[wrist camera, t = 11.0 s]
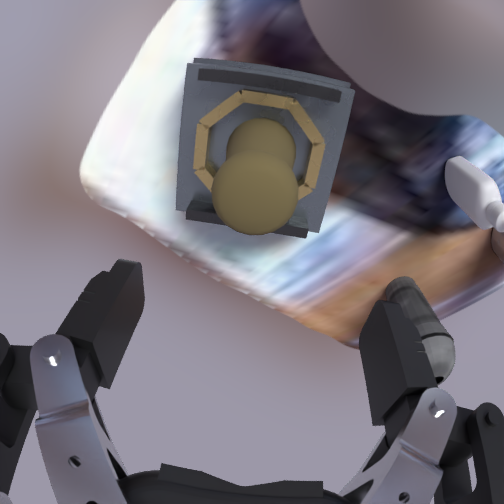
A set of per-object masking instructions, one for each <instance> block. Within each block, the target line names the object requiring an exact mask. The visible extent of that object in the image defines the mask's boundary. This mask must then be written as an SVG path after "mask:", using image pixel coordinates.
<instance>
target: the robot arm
mask: <svg viewBox="0 0 504 504" xmlns="http://www.w3.org/2000/svg"><path fill="white" fill-rule="evenodd" d="M491 244H492V248H493V251H494V252H495V254H496V255H497V256H498V257H499V259H500V260H501V261H502V262H503V264H504V232H498V231H497V230H496V229H495V228H493V232H492V237H491ZM144 301H145V296H144V286H143V274H142V266H141V263H139V262H134V261H129V260H124V259H118V260H117V261H116V263H115V264H114V266H113V267H112V269H111V270H110V272H106V271H102V272H101V273H99V274H98V275H96V276H95V277H94V278H92V279H91V280H90V282H89V283H88V285H87V286H86V287H85V289H84V292H82V294H81V295H80V296H79V298H78V301H76V303H75V304H74V306H73V307H72V308H71V310H70V312H69V313H68V315H67V316H66V318H65V319H64V321H63V323H62V324H61V326H60V327H59V329H58V331H57V332H56V334H52V335H47V336H44V337H43V338H40V339H39V340H38V341H37V342H36V343H35V344H34V345H33V346H17V345H10V344H9V342H8V340H7V339H6V337H5V336H4V335H3V334H1V333H0V504H12V502H11V500H10V498H9V497H8V494H9V490H10V486H11V483H12V479H13V476H14V472H15V469H16V466H17V463H18V460H19V457H20V454H21V451H22V448H23V445H24V442H25V439H26V436H27V434H28V431H29V428H30V426H31V423H32V420H33V418H34V415H35V413H36V410H39V418H38V419H36V421H35V428H36V433H37V437H38V441H39V445H40V449H41V453H42V456H43V460H44V463H45V466H46V470H47V473H48V476H49V479H50V483H51V486H52V488H53V491H54V494H55V497H56V499H57V502H58V504H430V502H431V499H432V498H433V495H434V504H504V416H503V414H502V412H501V410H500V409H499V408H498V407H497V406H496V405H494V404H492V403H483V404H481V405H480V406H479V407H478V408H477V409H476V410H474V411H473V410H470V409H466V408H462V407H458V406H456V403H455V401H454V399H453V397H452V396H451V395H450V394H449V393H448V392H446V391H445V390H443V389H440V388H438V386H437V382H436V379H435V376H434V373H433V370H432V367H431V364H430V361H429V358H428V355H427V353H425V351H426V350H425V347H424V344H423V343H422V339H421V336H420V333H419V331H418V329H417V327H416V326H415V325H414V324H413V322H412V321H411V320H410V319H409V318H405V316H404V313H403V310H402V308H401V305H400V304H399V303H398V302H390V301H382V300H378V301H377V302H376V303H375V305H374V307H373V309H372V311H371V313H370V315H369V317H368V319H367V321H366V323H365V325H364V327H363V328H362V331H361V333H360V338H359V348H360V354H361V358H362V364H363V369H364V375H365V380H366V386H367V392H368V397H369V404H370V411H371V417H372V424H373V426H377V425H379V426H380V425H385V432H384V433H383V434H382V436H381V437H380V439H379V441H378V442H377V444H376V446H375V447H374V449H373V450H372V452H371V453H370V455H369V456H368V458H367V459H366V461H365V462H364V464H363V465H362V467H361V468H360V470H359V471H358V473H357V474H356V475H355V476H354V477H353V479H352V480H351V481H350V482H349V483H348V484H347V485H346V486H345V487H344V488H343V489H342V490H341V491H340V493H339V494H336V493H333V492H330V491H327V490H324V489H323V481H285V480H284V481H279V482H273V483H267V484H260V485H254V486H239V485H236V484H233V483H230V482H227V481H225V480H222V479H220V478H217V477H214V476H212V475H209V474H207V473H204V472H202V471H197V470H192V469H187V468H181V467H177V466H172V465H167V464H163V463H162V464H161V468H160V470H154V471H144V472H140V473H135V474H132V475H128V473H127V471H126V469H125V467H124V464H123V462H122V461H121V459H120V456H119V454H118V452H117V451H116V449H115V447H114V444H113V442H112V440H111V437H110V435H109V433H108V430H107V427H106V425H105V422H104V419H103V417H102V414H101V411H100V408H99V405H98V403H97V400H96V397H95V394H96V392H97V389H98V387H99V386H101V387H104V388H108V389H110V387H111V385H112V382H113V380H114V377H115V374H116V372H117V370H118V367H119V365H120V363H121V360H122V358H123V355H124V353H125V350H126V348H127V346H128V344H129V341H130V339H131V337H132V335H133V332H134V330H135V328H136V326H137V323H138V321H139V319H140V317H141V314H142V312H143V307H144ZM472 456H473V460H474V466H475V472H476V478H477V484H476V488H475V490H474V491H473V492H472V487H471V480H470V473H469V467H468V462H467V460H468V459H469V458H471V457H472Z"/></svg>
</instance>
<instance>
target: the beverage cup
mask: <svg viewBox="0 0 504 504" xmlns="http://www.w3.org/2000/svg"><path fill="white" fill-rule="evenodd" d="M386 298H387V301H390V302H398V303H399V304H400V305H401V308H402V310H403V313H404V316H405V318H409V319H410V320H411V321H412V322H413V324H414V325H415V326H416V327H417V329H418V331H419V333H420V336H421V339H422V343H423V344H424V347H425V350H426V351H425V353H427V355H428V358H429V361H430V364H431V367H432V370H433V373H434V376H435V379H436V382H437V386H438V385H439V384H441V383H442V382H444V381H445V380H446V379H447V377H448V376H449V375H450V373H451V371H452V369H453V367H454V364H455V347H454V341H453V338H452V337H451V335H449V333H448V332H447V331H446V329H445V328H444V327H443V326H442V325H441V323H440V321H439V320H438V318H437V316H436V314H435V313H434V311H433V309H432V308H431V306H430V304H429V303H428V301H427V300H426V298H425V296H424V295H423V293H422V292H421V290H420V288H419V287H418V286H417V285H416V284H415V282H414V280H413V279H412V278H410V277H405V276H404V277H399V278H397V279H394V280H393V281H392V282H391V283H390V284H389V285H388V286H387V288H386Z"/></svg>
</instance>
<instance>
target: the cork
mask: <svg viewBox="0 0 504 504" xmlns="http://www.w3.org/2000/svg"><path fill="white" fill-rule="evenodd" d="M295 159H296V145H295V142H294V139H293V136H292V135H291V133H290V132H289V131H288V129H287V128H286V127H285V126H283V125H282V124H280V123H279V122H277V121H274V120H271V119H268V118H254V119H251V120H248V121H245V122H243V123H242V124H240V125H239V126H238V127H236V128H235V129H234V131H233V132H232V134H231V135H230V137H229V140H228V143H227V147H226V161H225V162H224V163H223V164H222V165H221V167H220V168H219V170H218V171H217V173H216V174H215V176H214V179H213V183H212V187H211V193H212V202H213V206H214V209H215V211H216V213H217V215H218V217H219V218H220V219H221V220H222V221H223V222H224V223H225V224H226V225H227V226H229V227H230V228H232V229H234V230H235V231H237V232H240V233H244V234H247V235H264V234H267V233H271V232H274V231H276V230H277V229H279V228H281V227H282V226H284V225H285V224H286V223H287V221H288V220H289V219H290V218H291V217H292V215H293V213H294V211H295V208H296V205H297V203H298V192H299V188H298V184H297V181H296V178H295V175H294V172H293V171H292V170H293V166H294V162H295Z"/></svg>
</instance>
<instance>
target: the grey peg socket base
mask: <svg viewBox="0 0 504 504" xmlns="http://www.w3.org/2000/svg"><path fill="white" fill-rule="evenodd" d="M350 84H351V83H348V82H344V81H340V80H336V79H332V78H328V77H324V76H319V75H315V74H310V73H305V72H300V71H295V70H290V69H284V68H278V67H272V66H266V65H259V64H252V63H244V62H236V61H227V60H216V59H203V58H194V63H187V69H186V78H185V87H184V96H183V106H182V117H181V129H180V142H179V157H178V174H177V194H176V210H179V211H186V219H188V220H194V221H201V222H208V223H214V224H220V225H226V224H225V223H224V222H223V221H222V220H221V219H220V218H219V217H218V215H217V213H216V211H215V209H214V206H213V202H212V193H211V187H212V183H213V179H214V176H215V174H216V173H217V171H218V170H219V168H220V167H221V165H222V164H223V163H224V162H225V161H226V147H227V143H228V140H229V137H230V135H231V134H232V132H233V131H234V129H235V128H236V127H238V126H239V125H240V124H242V123H243V122H245V121H248V120H251V119H254V118H268V119H271V120H274V121H277V122H279V123H280V124H282V125H283V126H285V127H286V128H287V129H288V131H289V132H290V133H291V135H292V136H293V139H294V142H295V145H296V159H295V162H294V166H293V170H292V171H293V172H294V175H295V178H296V181H297V184H298V188H299V192H298V203H297V205H296V208H295V211H294V213H293V215H292V217H291V218H290V219H289V220H288V221H287V223H286V224H285V225H284V226H282V227H281V228H279V229H277V230H276V231H274V232H271V233H277V234H283V235H289V236H295V237H300V238H306V237H307V233H308V231H310V232H316V233H319V230H320V227H321V223H322V220H323V216H324V213H325V209H326V205H327V202H328V198H329V195H330V191H331V187H332V183H333V180H334V176H335V172H336V168H337V164H338V160H339V156H340V153H341V149H342V144H343V140H344V136H345V132H346V128H347V124H348V120H349V115H350V111H351V107H352V102H353V98H354V93H355V90H353V89H350Z"/></svg>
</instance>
